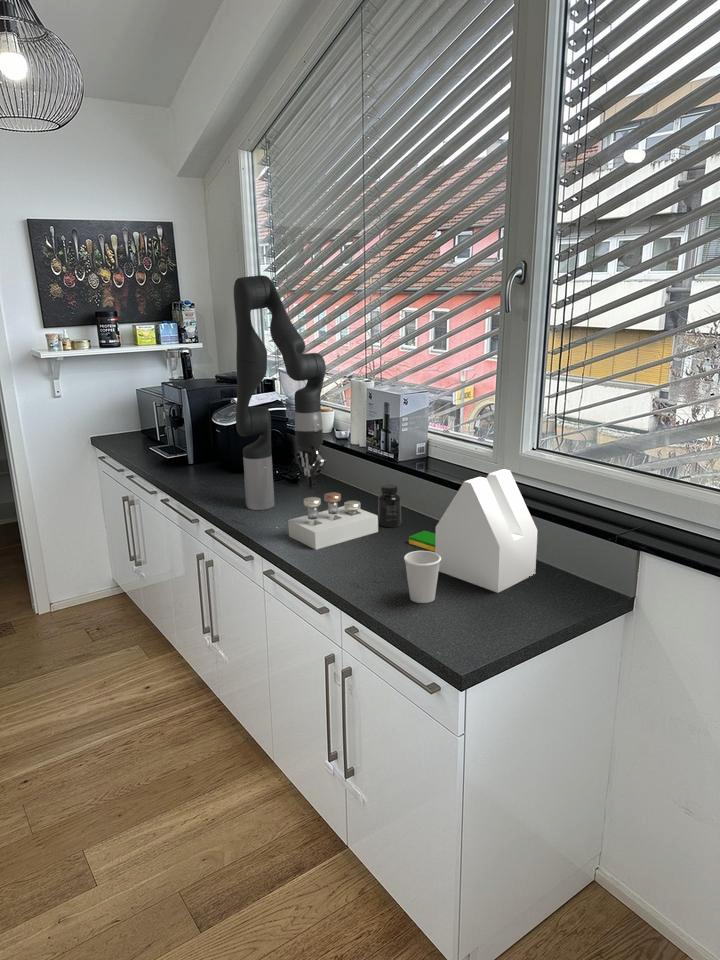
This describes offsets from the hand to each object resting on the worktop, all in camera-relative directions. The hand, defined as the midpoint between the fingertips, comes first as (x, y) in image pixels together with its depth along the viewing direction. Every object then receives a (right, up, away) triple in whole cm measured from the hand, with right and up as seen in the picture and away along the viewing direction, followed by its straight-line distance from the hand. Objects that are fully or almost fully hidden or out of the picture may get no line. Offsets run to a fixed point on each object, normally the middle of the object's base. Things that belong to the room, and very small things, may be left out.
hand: (311, 488), depth 189 cm
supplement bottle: (+23, -11, +16) cm, 30 cm away
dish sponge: (+34, -17, -2) cm, 38 cm away
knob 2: (+11, -10, +12) cm, 19 cm away
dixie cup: (+28, -25, -34) cm, 50 cm away
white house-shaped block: (+45, -21, -20) cm, 53 cm away
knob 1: (0, -8, +2) cm, 9 cm away
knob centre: (+6, -7, +7) cm, 11 cm away
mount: (+6, -13, +8) cm, 17 cm away
